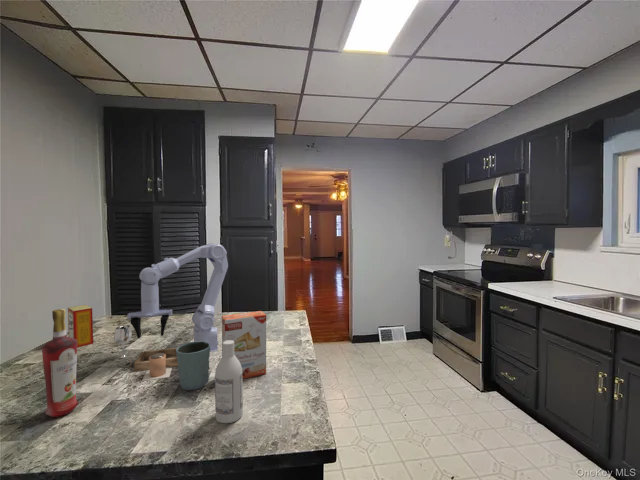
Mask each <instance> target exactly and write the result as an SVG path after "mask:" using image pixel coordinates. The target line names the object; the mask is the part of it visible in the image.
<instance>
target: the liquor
mask: <svg viewBox="0 0 640 480" xmlns="http://www.w3.org/2000/svg"><path fill="white" fill-rule="evenodd" d="M65 319H66V309H65V308H60V309H55V310H52V321H53V327H52V339H51V340H48V341H47V342H46V343H45V344H43V345H42V346H41V352H42V353H41V355H42V365H43V373H44V374H43V376H44V381H45V382H44V383H45V392H46V410H45V411H44V413H45V415H47V416H49V417H52V418H60V417H64V416H66V415H68V414H70V413H71V412H72V411H73V410H74V409H75V408H76V407H78V405H79V402H78V400H77V365H78V347H77V340H76V339H74V338H71V337H69V336H68V334H67V328H66V322H65Z"/></svg>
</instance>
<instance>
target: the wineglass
mask: <svg viewBox="0 0 640 480" xmlns="http://www.w3.org/2000/svg"><path fill="white" fill-rule="evenodd" d="M132 336H133V333H132V329H131V326H130V325H121V326H120V325H119V326H117V327H115V328H114V334H113V339H114V342H115V343H116V344H118V345H121V348H122V355H121V356H120V357H119V358H120V359H125V358H128V355H126V354H125V347H126V345H125V344H127V343H129V342H130V341H131V340H132V338H133V337H132Z"/></svg>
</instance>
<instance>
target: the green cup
mask: <svg viewBox="0 0 640 480" xmlns="http://www.w3.org/2000/svg"><path fill="white" fill-rule="evenodd" d="M176 348H177V349H176V355H177V362H178V365H179V366H177V367H178V368H177V369H178V375H179V386H180V387H181V388H182V389H183V390H186V391H187V390H189V391H190V390H196V389H200V388H202V387H204V386H206V385H207V384H208V383H209V380H210V371H209V369H210V356H211V355H210V354H211V352H210V343H208V342H205V341H194V340H193V341H189V342H185V343H183V344H181V345H179V346H177V347H176Z"/></svg>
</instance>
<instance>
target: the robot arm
mask: <svg viewBox="0 0 640 480" xmlns="http://www.w3.org/2000/svg"><path fill="white" fill-rule="evenodd" d="M227 254H228V252H227V250H226V248H225V247H224V246H223V245H222V244H220V243H216V244H215V243H207V244H205V245H201V246H198V247H197V248H195V249H192V250H191V251H188V252H186V253H184V254H182V255H181V256H179V257H177V258H174V257H169V258H168V257H165V258H163V261H160V262H157V263H156V264H155V263H153V264H151V267H145V268H143V269H141V271H140V273H139V276H138V277H139V280H140V281H141V283H140V286H141V287H140V303H141V310H140V311H136V312H135V311H134V312H129V313H127V316H126V317H127V320H130V324H131V326H132V327H133V328H134V331H135V334H136V337H137V339H140V338H141V337H142V328H141V327H142V326H141V321H142V318H153V317H155V318H157V317H160V318H159V319H160V336H161V337H164V334H165V329H166V325H167V323H168V320H169V317H171V316H173V309H160V298H159V297H160V296H159V295H160V294H159V292H160V291H159V288H160V287H159V281H160V279H163V278H166V277H168V276H170V275H173V273H176V272H178V271H179V269H180V267H181V266H184V265H185V264H188V263H190V262H192V261H195V260H197V259H200V258H202V259H203V258H204V259H208V260H209V261H210V262H211V264H212V266H213V270H212V273H211V276H210V279H209V281H208V285H207V288H206V290H205V293H204V296H203V298H202V301H201V304H200V305H198V307H197V308H196V309H197V310H196V311H195V312H194V313H193V314H192V316H191V320H192V323H193V324H194V327H193V342H194V341H205V342H208V343H210V353H211V352H217V351H218V349H219V348H218V346H219V340H218V327H216V326H215V327H214V323H215V315H216V312H215V311H216V310H215V306H216V302H217V301H218V297H219V294H220V292H221V288H222V286H223V282H224V280H225V277H226V274H227V272H228V268H229V263H228V258H227V257H228V256H227Z"/></svg>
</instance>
